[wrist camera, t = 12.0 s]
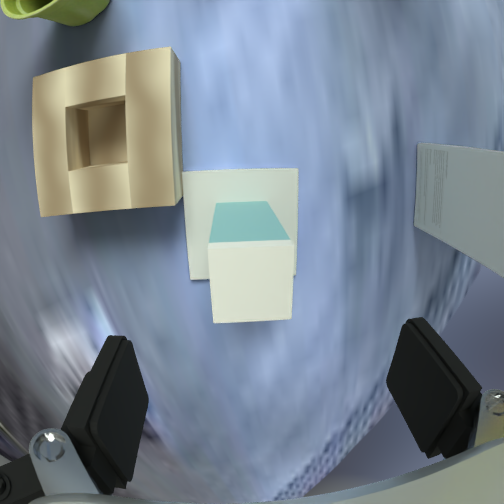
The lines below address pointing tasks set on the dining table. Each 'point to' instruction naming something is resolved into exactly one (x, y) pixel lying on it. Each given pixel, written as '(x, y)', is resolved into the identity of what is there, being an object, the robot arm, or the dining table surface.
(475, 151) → the supplement box
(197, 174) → the mat
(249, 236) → the plug
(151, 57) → the socket block
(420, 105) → the dining table surface
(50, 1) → the plant pot
